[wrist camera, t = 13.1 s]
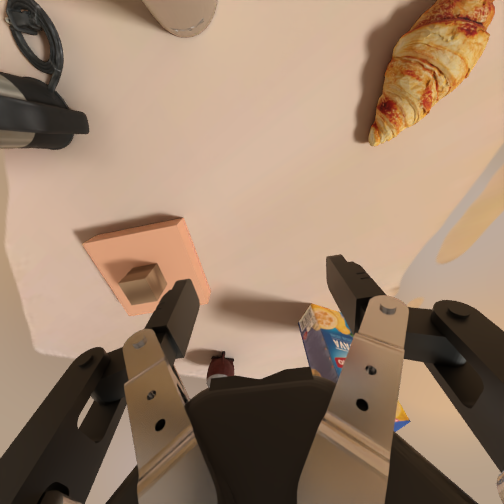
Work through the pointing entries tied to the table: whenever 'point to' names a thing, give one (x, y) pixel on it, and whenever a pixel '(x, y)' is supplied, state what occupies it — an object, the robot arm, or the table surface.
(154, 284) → the walnut cube
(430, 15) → the croissant
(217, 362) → the mate gourd
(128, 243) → the terracotta base
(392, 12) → the table surface
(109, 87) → the table surface
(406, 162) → the table surface
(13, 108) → the milk frother
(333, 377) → the beverage box
